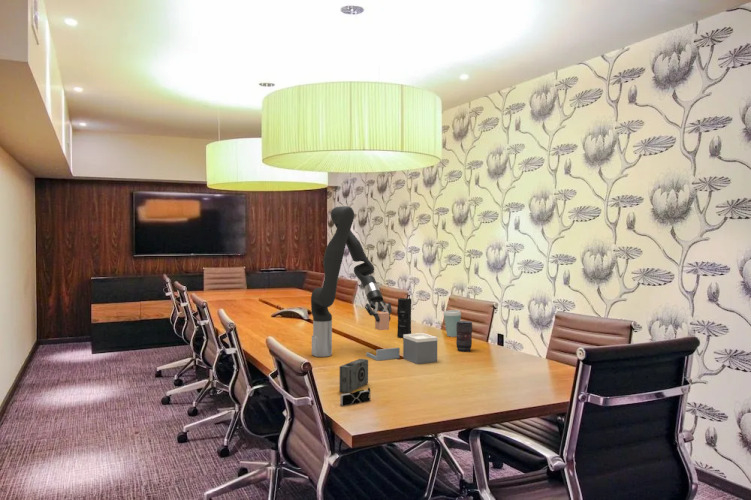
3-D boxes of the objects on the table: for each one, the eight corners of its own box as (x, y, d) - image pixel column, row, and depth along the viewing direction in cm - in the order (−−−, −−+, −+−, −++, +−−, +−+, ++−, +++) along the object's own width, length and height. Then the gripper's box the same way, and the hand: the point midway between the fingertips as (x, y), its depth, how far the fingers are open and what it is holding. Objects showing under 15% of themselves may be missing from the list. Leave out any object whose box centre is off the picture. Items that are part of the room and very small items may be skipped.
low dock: (377, 360, 254) (377, 350, 253) (366, 355, 265) (366, 345, 264) (399, 358, 259) (399, 347, 259) (387, 353, 270) (387, 343, 270)
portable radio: (395, 337, 313) (395, 294, 313) (399, 335, 319) (399, 293, 318) (407, 338, 310) (407, 295, 309) (411, 337, 315) (412, 294, 315)
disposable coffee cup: (457, 338, 311) (457, 312, 311) (440, 336, 317) (440, 311, 317) (464, 335, 320) (464, 310, 320) (447, 333, 326) (447, 309, 326)
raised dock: (417, 364, 247) (417, 339, 247) (403, 358, 259) (403, 334, 258) (437, 361, 252) (437, 337, 252) (422, 356, 264) (422, 332, 263)
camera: (346, 394, 199) (346, 367, 199) (337, 392, 201) (337, 366, 201) (368, 384, 213) (368, 358, 213) (359, 382, 215) (360, 357, 215)
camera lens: (473, 352, 274) (473, 322, 273) (457, 352, 273) (457, 322, 273) (470, 348, 282) (470, 320, 281) (455, 348, 282) (455, 320, 281)
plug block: (379, 330, 258) (380, 313, 258) (375, 328, 263) (375, 312, 263) (388, 329, 261) (389, 313, 261) (384, 328, 265) (384, 311, 265)
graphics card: (369, 401, 192) (367, 387, 193) (372, 401, 190) (371, 386, 191) (340, 406, 186) (338, 391, 187) (343, 406, 184) (342, 391, 185)
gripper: (362, 289, 265) (373, 317, 254) (388, 288, 271) (399, 315, 261) (358, 299, 270) (368, 326, 259) (383, 298, 276) (394, 325, 266)
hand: (383, 320), depth 260 cm, fingers closed on plug block, 5 cm apart
